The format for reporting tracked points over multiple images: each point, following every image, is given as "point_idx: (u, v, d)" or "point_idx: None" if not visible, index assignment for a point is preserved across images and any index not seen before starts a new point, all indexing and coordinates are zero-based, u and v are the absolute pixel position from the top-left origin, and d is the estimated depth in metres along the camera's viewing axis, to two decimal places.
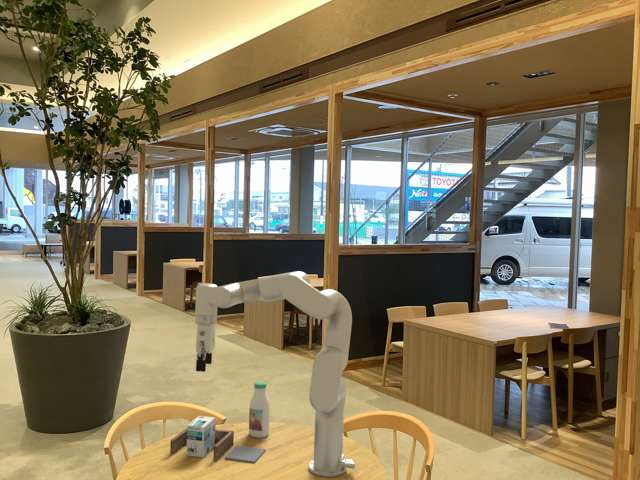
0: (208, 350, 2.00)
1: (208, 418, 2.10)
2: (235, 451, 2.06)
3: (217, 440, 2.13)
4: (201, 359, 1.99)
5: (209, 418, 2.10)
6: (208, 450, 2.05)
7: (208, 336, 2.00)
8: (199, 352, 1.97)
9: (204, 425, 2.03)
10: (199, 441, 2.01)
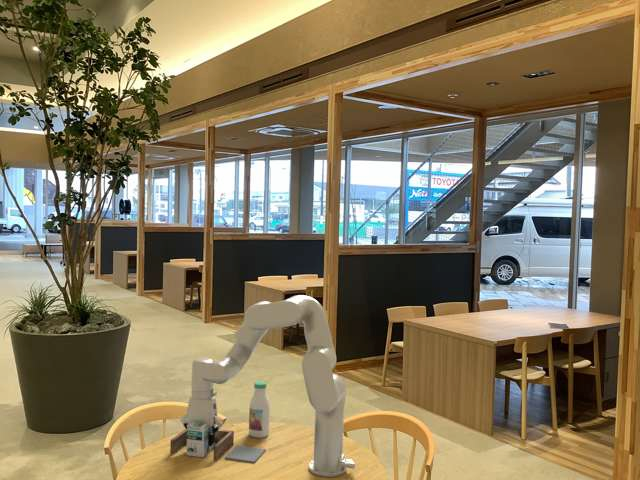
0: None
1: None
2: (235, 451, 2.06)
3: (217, 440, 2.13)
4: None
5: None
6: (208, 450, 2.05)
7: (216, 407, 2.07)
8: (221, 426, 2.05)
9: (204, 425, 2.03)
10: (199, 441, 2.01)
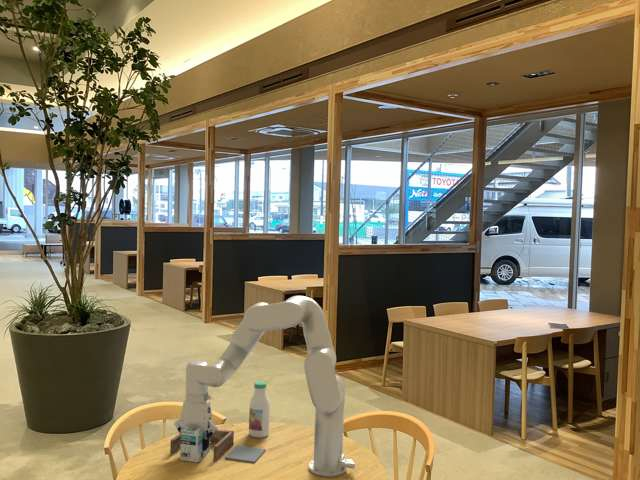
0: None
1: None
2: (235, 451, 2.06)
3: (217, 440, 2.13)
4: None
5: None
6: (202, 455, 2.01)
7: (211, 411, 2.03)
8: (216, 430, 2.00)
9: (198, 429, 1.99)
10: (193, 446, 1.97)
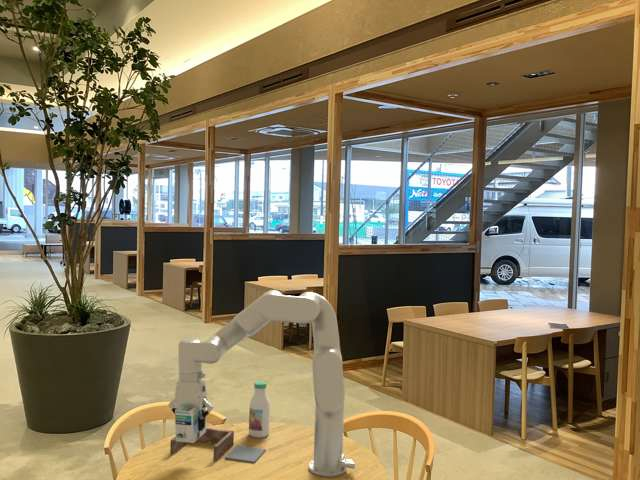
0: None
1: None
2: (235, 451, 2.06)
3: (217, 440, 2.13)
4: (205, 416, 1.96)
5: None
6: (198, 435, 1.95)
7: None
8: (211, 409, 1.95)
9: (193, 409, 1.93)
10: (188, 426, 1.91)
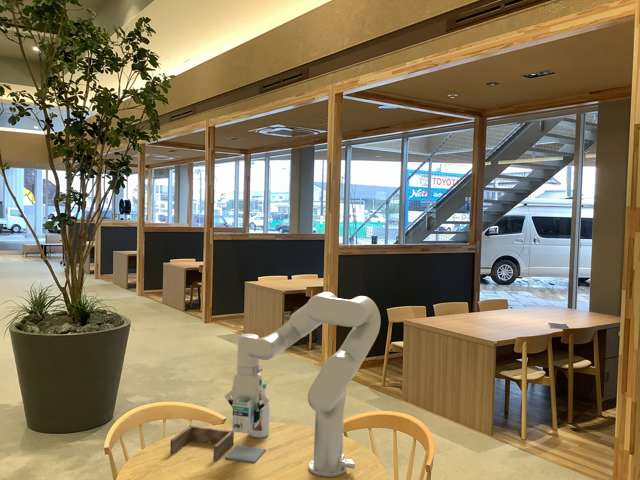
0: None
1: None
2: (235, 451, 2.06)
3: (217, 440, 2.13)
4: None
5: None
6: (253, 426, 2.03)
7: None
8: (267, 402, 2.02)
9: (250, 401, 2.00)
10: (245, 417, 1.99)
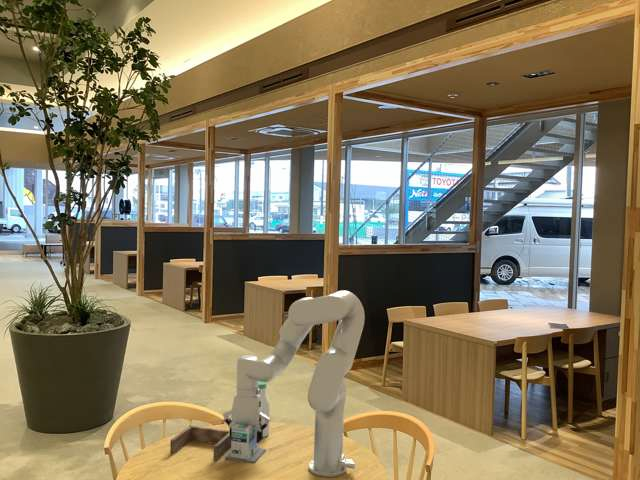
0: None
1: None
2: None
3: (217, 440, 2.13)
4: None
5: None
6: (252, 452, 2.03)
7: (261, 405, 2.05)
8: (269, 421, 2.02)
9: (249, 427, 2.01)
10: (244, 443, 1.99)
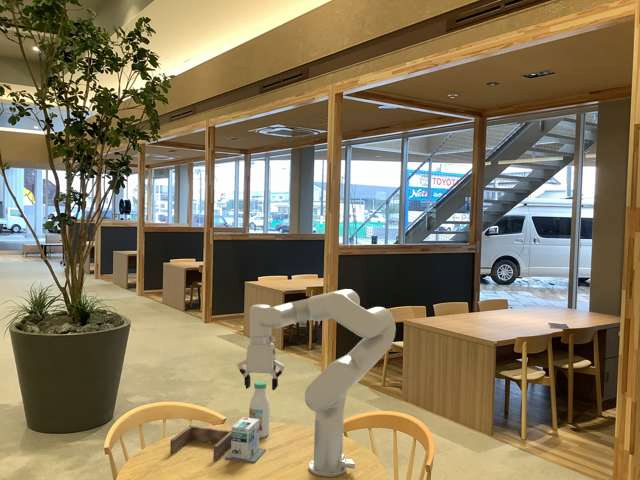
0: None
1: (252, 420, 2.08)
2: None
3: (217, 440, 2.13)
4: (278, 376, 2.05)
5: (253, 420, 2.08)
6: (252, 452, 2.03)
7: (275, 353, 2.07)
8: None
9: (248, 427, 2.01)
10: (244, 443, 1.99)
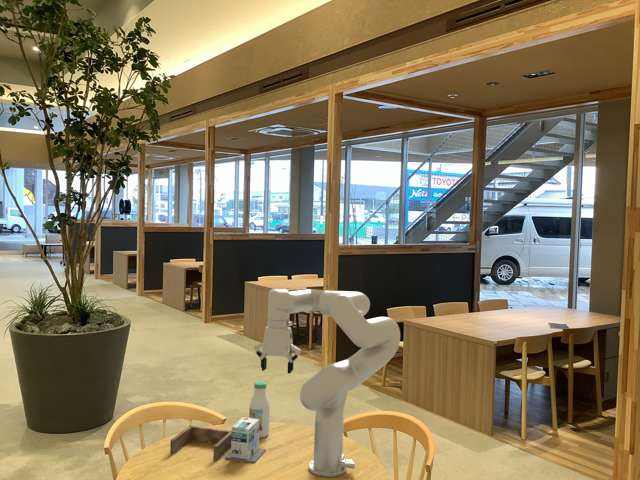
0: None
1: (252, 420, 2.08)
2: None
3: (217, 440, 2.13)
4: None
5: (253, 420, 2.08)
6: (252, 452, 2.03)
7: None
8: (300, 352, 2.07)
9: (248, 427, 2.01)
10: (244, 443, 1.99)
